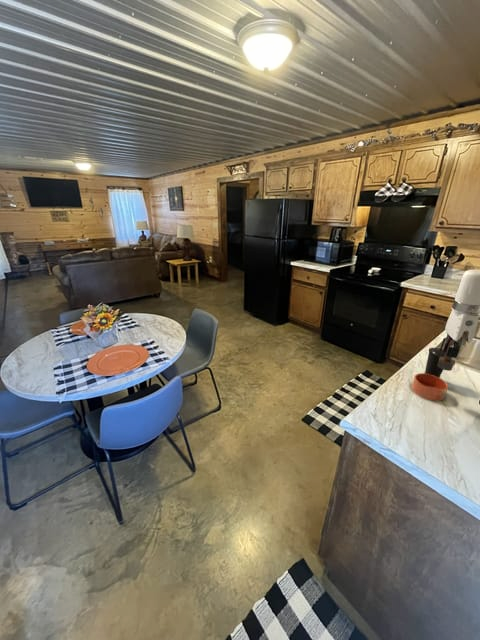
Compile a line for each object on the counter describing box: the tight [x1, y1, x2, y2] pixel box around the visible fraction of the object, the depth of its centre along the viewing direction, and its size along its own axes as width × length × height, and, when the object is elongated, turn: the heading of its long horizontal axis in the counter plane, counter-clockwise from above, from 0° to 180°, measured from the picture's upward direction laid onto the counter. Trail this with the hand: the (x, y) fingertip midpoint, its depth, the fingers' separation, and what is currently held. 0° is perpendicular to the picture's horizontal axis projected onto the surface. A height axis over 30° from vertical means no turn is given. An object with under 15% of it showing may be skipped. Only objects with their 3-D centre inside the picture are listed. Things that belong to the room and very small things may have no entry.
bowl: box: [411, 372, 449, 402], centre depth 105 cm, size 11×11×5 cm
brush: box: [437, 340, 459, 372], centre depth 95 cm, size 5×5×11 cm
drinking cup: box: [424, 337, 447, 378], centre depth 109 cm, size 8×8×20 cm
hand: (449, 354), depth 95 cm, fingers closed on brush
